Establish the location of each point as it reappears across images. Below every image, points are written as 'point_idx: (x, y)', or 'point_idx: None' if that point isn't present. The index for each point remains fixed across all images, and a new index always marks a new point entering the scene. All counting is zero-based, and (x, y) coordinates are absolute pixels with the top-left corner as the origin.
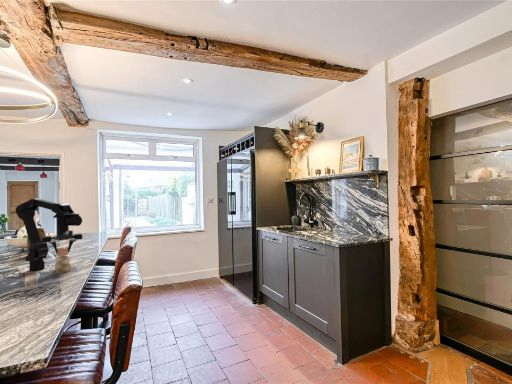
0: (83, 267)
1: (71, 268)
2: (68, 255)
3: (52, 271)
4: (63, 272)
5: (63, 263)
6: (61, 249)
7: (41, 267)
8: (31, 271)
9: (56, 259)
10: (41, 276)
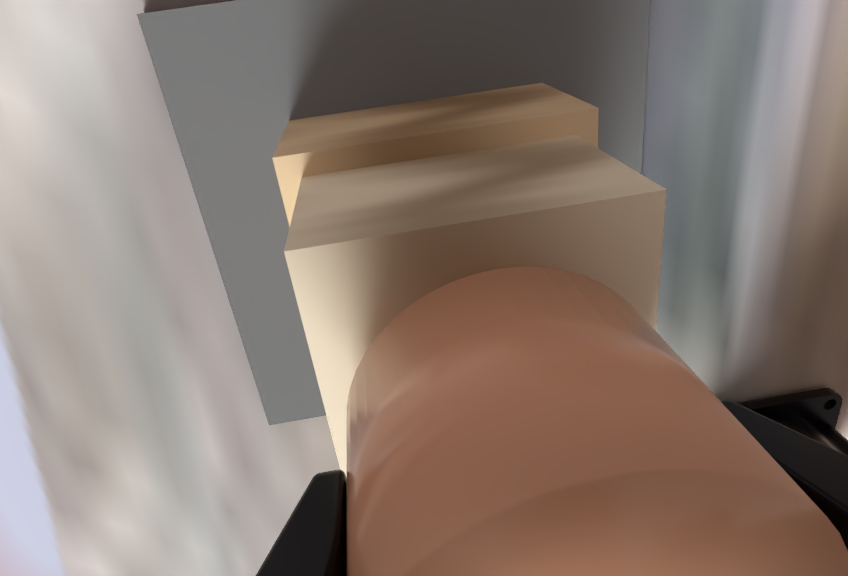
0: (127, 352)
1: None
2: None
3: None
4: (412, 49)
5: (440, 161)
6: (670, 438)
7: None
8: (817, 393)
9: None
10: (750, 26)
